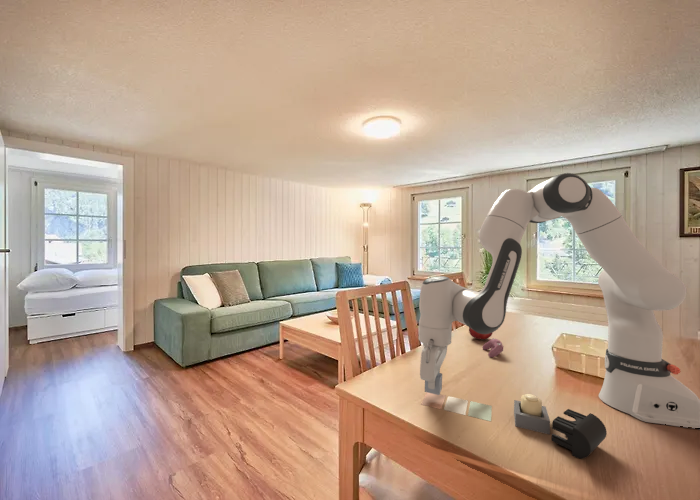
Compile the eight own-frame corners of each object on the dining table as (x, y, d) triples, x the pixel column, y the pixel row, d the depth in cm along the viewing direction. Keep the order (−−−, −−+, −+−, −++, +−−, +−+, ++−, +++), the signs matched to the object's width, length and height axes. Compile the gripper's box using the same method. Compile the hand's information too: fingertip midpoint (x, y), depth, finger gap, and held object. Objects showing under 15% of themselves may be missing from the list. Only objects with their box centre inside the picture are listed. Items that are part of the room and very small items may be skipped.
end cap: (589, 468, 61) (590, 435, 61) (550, 448, 67) (551, 418, 67) (606, 449, 67) (607, 419, 67) (568, 432, 73) (569, 404, 73)
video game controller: (498, 362, 119) (507, 346, 118) (487, 356, 120) (496, 341, 119) (490, 353, 129) (499, 338, 128) (480, 347, 129) (489, 333, 129)
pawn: (441, 388, 87) (442, 364, 86) (439, 395, 83) (440, 369, 83) (427, 385, 88) (428, 361, 88) (424, 391, 85) (425, 366, 85)
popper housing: (545, 421, 77) (545, 406, 77) (549, 437, 71) (550, 421, 71) (513, 414, 80) (514, 400, 80) (515, 428, 74) (515, 413, 74)
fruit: (486, 335, 147) (486, 315, 147) (497, 342, 138) (497, 320, 137) (464, 335, 147) (465, 315, 146) (474, 342, 137) (474, 320, 137)
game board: (492, 406, 84) (492, 404, 84) (492, 426, 75) (492, 423, 75) (426, 391, 92) (426, 389, 92) (418, 408, 83) (418, 405, 83)
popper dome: (540, 412, 76) (540, 394, 76) (542, 422, 73) (543, 403, 72) (520, 408, 78) (520, 390, 78) (521, 417, 74) (521, 398, 74)
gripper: (440, 348, 75) (438, 404, 75) (451, 327, 93) (450, 372, 93) (414, 344, 77) (413, 398, 78) (430, 324, 96) (429, 368, 96)
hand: (433, 383), depth 86 cm, fingers closed on pawn, 4 cm apart
